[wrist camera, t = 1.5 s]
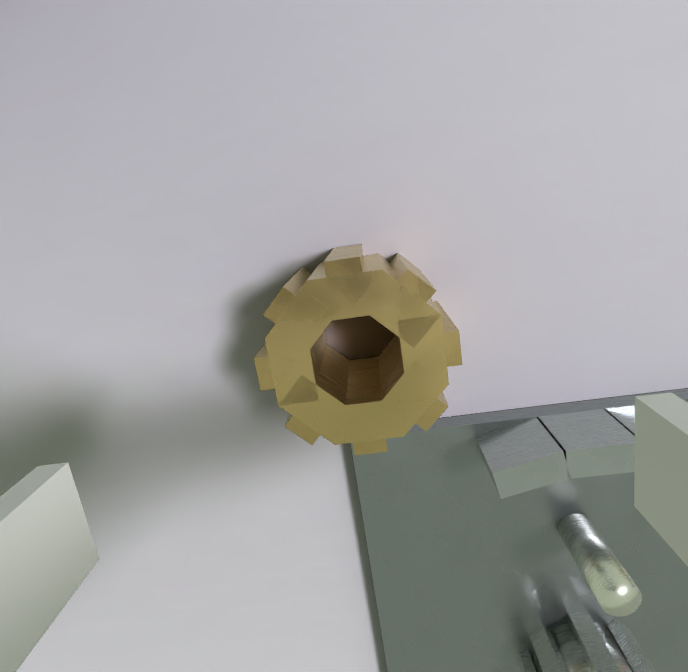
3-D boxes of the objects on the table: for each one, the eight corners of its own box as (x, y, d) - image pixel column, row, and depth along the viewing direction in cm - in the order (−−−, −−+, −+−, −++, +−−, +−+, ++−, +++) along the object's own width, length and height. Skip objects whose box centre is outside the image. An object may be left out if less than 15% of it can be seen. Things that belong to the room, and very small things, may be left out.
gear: (266, 258, 25) (236, 274, 19) (430, 233, 24) (450, 243, 18) (295, 408, 27) (275, 464, 21) (446, 389, 26) (469, 441, 20)
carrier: (350, 428, 27) (346, 493, 21) (746, 381, 25) (863, 436, 19) (396, 715, 32) (403, 832, 26) (728, 691, 31) (816, 811, 25)
